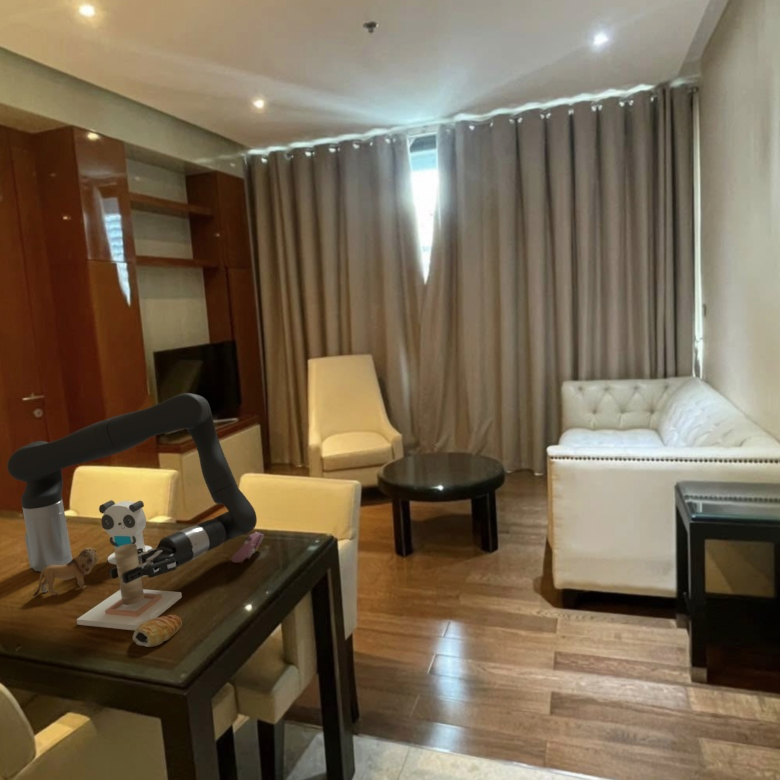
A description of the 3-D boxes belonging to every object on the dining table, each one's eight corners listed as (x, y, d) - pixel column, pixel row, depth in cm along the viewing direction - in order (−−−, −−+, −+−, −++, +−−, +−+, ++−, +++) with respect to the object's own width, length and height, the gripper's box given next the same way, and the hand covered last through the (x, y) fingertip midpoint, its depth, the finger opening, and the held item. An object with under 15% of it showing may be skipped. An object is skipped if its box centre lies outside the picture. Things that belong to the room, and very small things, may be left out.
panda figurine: (96, 563, 159) (87, 509, 156) (125, 545, 169) (117, 494, 167) (134, 565, 155) (126, 510, 153) (161, 547, 166) (154, 495, 164)
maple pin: (118, 604, 129) (109, 551, 128) (131, 594, 134) (124, 543, 132) (134, 605, 128) (126, 552, 126) (148, 595, 132) (140, 544, 130)
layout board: (77, 624, 127) (76, 615, 127) (123, 592, 140) (122, 584, 140) (140, 630, 123) (139, 621, 122) (181, 597, 136) (180, 588, 136)
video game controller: (245, 569, 151) (254, 546, 150) (229, 562, 152) (238, 538, 150) (260, 553, 161) (269, 531, 159) (245, 545, 161) (254, 523, 160)
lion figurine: (100, 576, 150) (95, 542, 149) (102, 584, 146) (96, 549, 144) (33, 594, 143) (27, 558, 142) (32, 603, 139) (26, 566, 137)
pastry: (168, 620, 126) (166, 603, 126) (191, 627, 123) (188, 610, 122) (130, 644, 118) (127, 626, 118) (153, 652, 115) (150, 634, 114)
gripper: (163, 526, 145) (96, 554, 131) (201, 535, 137) (133, 566, 123) (168, 555, 146) (101, 586, 132) (205, 566, 138) (139, 600, 124)
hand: (117, 576), depth 128 cm, fingers closed on maple pin, 4 cm apart
